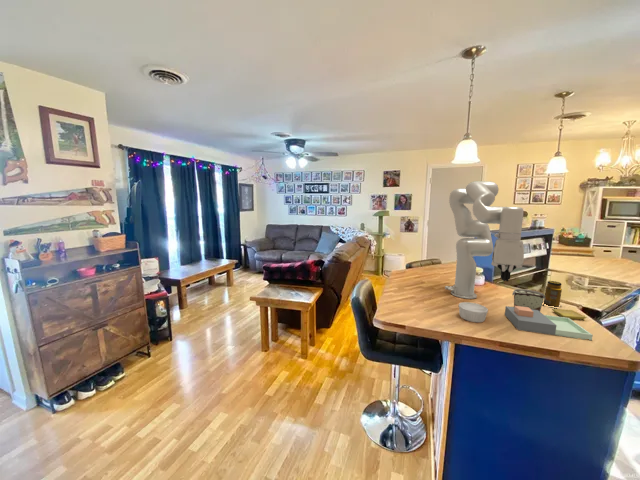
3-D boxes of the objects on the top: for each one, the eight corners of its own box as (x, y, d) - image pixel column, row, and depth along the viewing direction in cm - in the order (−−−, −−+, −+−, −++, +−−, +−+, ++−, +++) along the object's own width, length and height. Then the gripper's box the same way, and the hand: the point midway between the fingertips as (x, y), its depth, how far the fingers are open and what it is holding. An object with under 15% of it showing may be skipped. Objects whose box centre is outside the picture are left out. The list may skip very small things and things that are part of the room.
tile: (518, 315, 109) (518, 309, 109) (513, 311, 114) (514, 305, 113) (532, 317, 107) (533, 311, 107) (527, 312, 112) (528, 307, 112)
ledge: (517, 329, 105) (519, 320, 104) (504, 314, 120) (505, 306, 119) (555, 335, 101) (556, 325, 101) (536, 318, 116) (537, 310, 116)
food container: (537, 311, 125) (539, 290, 124) (543, 316, 119) (545, 294, 118) (506, 307, 129) (508, 287, 128) (510, 311, 123) (513, 291, 122)
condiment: (562, 306, 132) (565, 282, 131) (556, 309, 128) (560, 285, 126) (544, 301, 138) (547, 279, 137) (538, 304, 134) (541, 281, 132)
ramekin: (475, 325, 108) (476, 313, 107) (451, 315, 118) (452, 303, 118) (493, 321, 113) (494, 309, 112) (469, 311, 123) (470, 300, 122)
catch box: (555, 335, 101) (555, 329, 101) (536, 318, 116) (537, 313, 116) (591, 340, 97) (592, 334, 97) (568, 322, 112) (568, 317, 112)
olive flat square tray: (563, 320, 116) (564, 315, 116) (550, 312, 125) (551, 308, 124) (586, 322, 115) (587, 317, 114) (572, 314, 123) (572, 309, 123)
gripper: (490, 236, 108) (486, 280, 110) (535, 239, 103) (529, 284, 105) (486, 235, 115) (482, 276, 117) (527, 237, 110) (522, 280, 112)
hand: (504, 280), depth 111 cm, fingers closed
